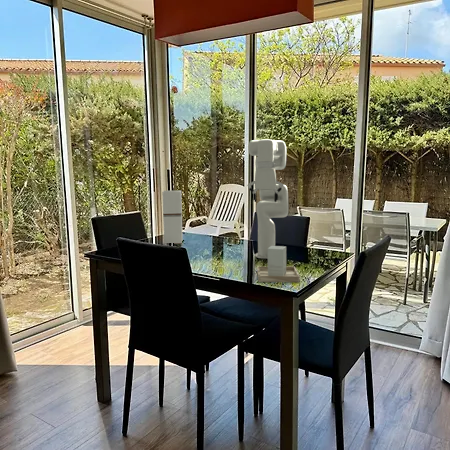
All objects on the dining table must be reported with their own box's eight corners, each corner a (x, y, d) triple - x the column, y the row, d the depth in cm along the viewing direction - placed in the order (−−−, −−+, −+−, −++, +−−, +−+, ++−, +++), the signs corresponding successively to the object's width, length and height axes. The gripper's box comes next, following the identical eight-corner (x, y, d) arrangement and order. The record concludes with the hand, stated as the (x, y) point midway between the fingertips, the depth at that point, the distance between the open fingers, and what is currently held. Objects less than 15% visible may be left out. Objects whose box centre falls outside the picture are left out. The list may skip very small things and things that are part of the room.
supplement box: (286, 272, 193) (286, 246, 192) (283, 276, 187) (283, 249, 185) (271, 271, 196) (271, 245, 194) (267, 275, 189) (267, 248, 187)
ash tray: (257, 271, 200) (257, 266, 200) (294, 271, 200) (295, 266, 199) (258, 281, 183) (258, 276, 182) (299, 282, 182) (299, 276, 181)
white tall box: (182, 243, 276) (181, 190, 271) (182, 246, 266) (180, 191, 261) (165, 243, 275) (163, 190, 270) (164, 246, 265) (162, 191, 260)
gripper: (283, 165, 201) (282, 200, 204) (247, 166, 202) (247, 201, 205) (284, 165, 194) (284, 202, 196) (247, 166, 195) (247, 202, 197)
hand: (265, 201), depth 200 cm, fingers open, 9 cm apart
